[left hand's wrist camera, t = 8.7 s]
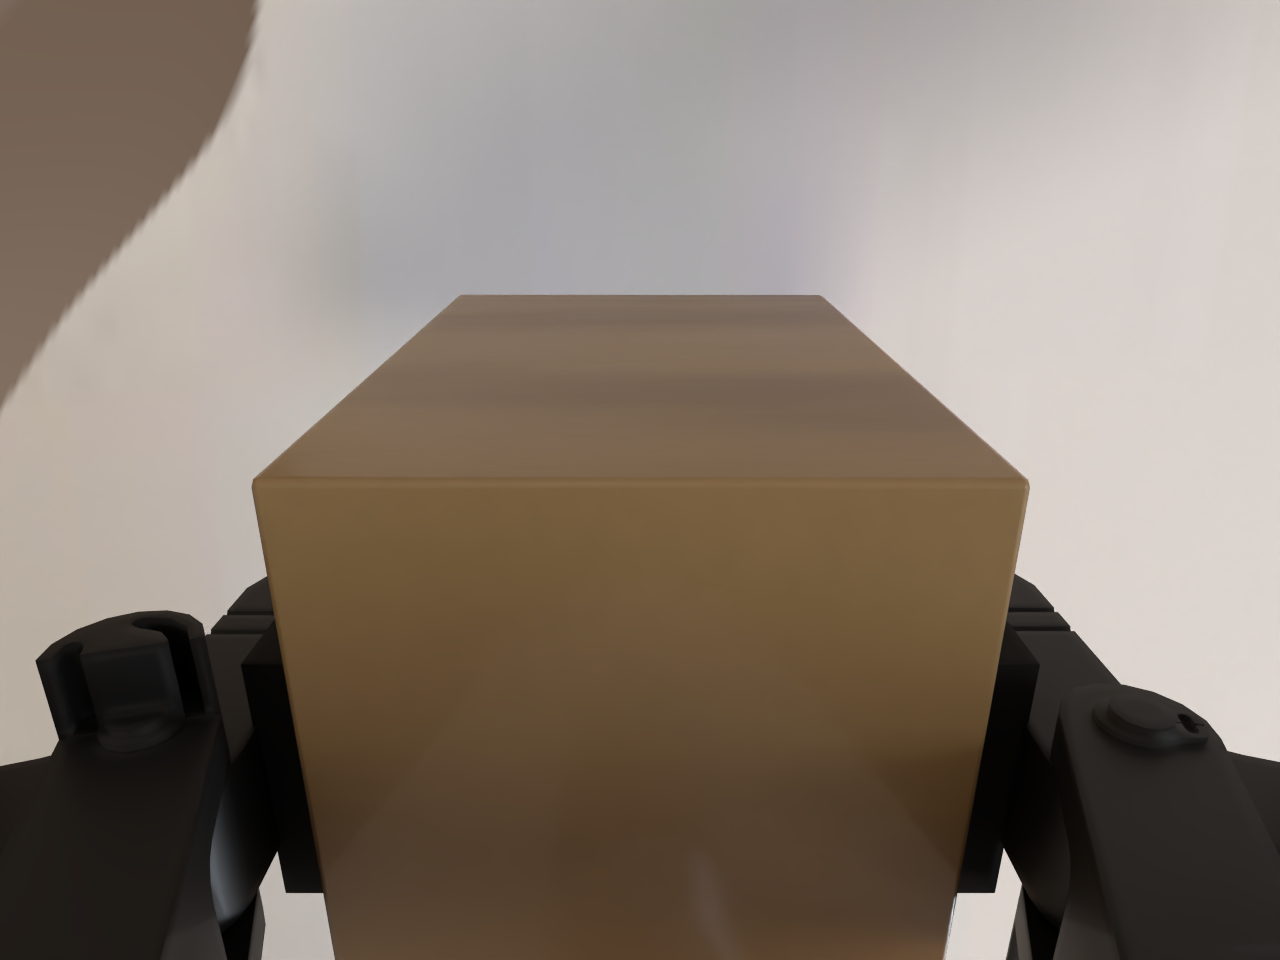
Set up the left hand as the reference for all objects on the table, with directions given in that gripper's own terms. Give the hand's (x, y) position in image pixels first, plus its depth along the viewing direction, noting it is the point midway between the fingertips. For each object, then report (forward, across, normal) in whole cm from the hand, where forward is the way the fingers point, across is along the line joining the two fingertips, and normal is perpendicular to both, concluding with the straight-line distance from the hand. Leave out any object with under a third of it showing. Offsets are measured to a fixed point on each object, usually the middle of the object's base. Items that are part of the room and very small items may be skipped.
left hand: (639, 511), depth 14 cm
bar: (+1, 0, -12) cm, 12 cm away
